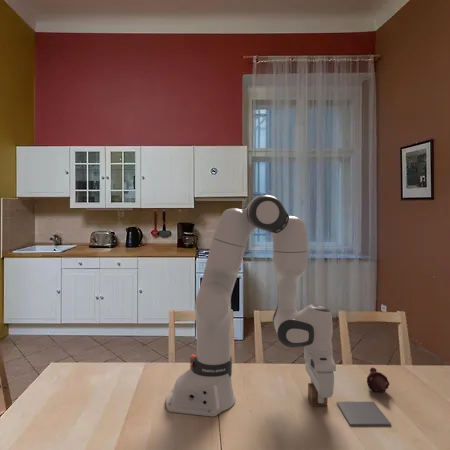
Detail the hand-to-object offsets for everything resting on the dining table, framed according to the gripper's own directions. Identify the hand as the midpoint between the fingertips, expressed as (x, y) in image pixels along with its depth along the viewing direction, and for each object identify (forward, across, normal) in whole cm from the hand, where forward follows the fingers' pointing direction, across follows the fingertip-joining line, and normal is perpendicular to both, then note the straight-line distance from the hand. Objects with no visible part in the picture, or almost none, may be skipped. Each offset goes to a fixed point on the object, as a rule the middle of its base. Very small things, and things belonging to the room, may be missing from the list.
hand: (317, 396), depth 116 cm
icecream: (+2, -7, +23) cm, 24 cm away
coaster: (+2, +7, +12) cm, 14 cm away
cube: (+2, 0, 0) cm, 2 cm away
